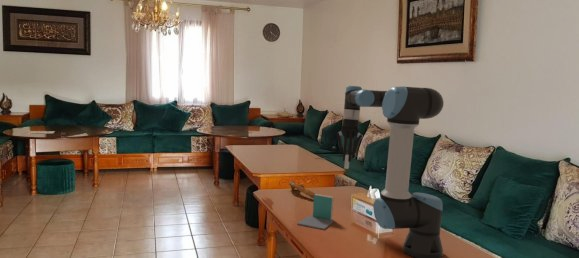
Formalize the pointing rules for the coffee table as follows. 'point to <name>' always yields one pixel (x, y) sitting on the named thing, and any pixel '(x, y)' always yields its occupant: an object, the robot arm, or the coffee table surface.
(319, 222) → the pad
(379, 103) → the robot arm
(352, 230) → the coffee table surface
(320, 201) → the tile
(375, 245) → the coffee table surface
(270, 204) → the coffee table surface
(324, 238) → the coffee table surface
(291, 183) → the brown curved bar
